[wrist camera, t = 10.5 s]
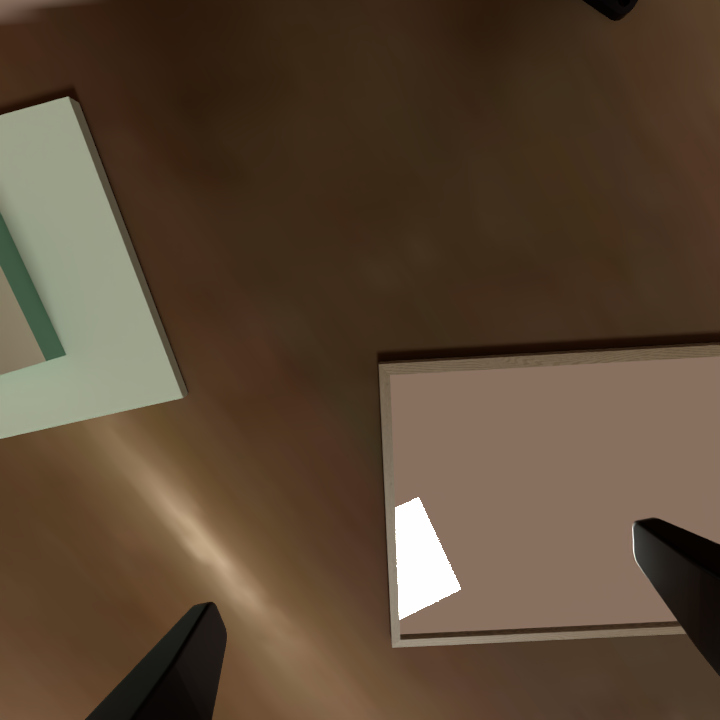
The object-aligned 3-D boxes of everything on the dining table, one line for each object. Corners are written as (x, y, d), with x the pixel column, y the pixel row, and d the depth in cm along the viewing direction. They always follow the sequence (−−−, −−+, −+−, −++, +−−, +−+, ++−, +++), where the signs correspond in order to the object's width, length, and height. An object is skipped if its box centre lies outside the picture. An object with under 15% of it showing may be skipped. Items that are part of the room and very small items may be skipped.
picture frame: (901, 329, 19) (377, 359, 19) (931, 332, 18) (378, 364, 18) (808, 612, 24) (390, 632, 24) (827, 626, 23) (392, 647, 23)
